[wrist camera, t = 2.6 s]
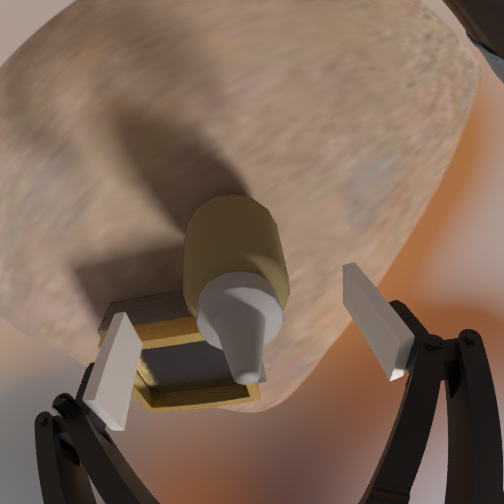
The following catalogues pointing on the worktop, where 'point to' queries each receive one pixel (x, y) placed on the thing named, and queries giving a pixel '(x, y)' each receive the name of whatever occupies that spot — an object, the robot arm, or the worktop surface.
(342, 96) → the worktop surface
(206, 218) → the squeeze bottle
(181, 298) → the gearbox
